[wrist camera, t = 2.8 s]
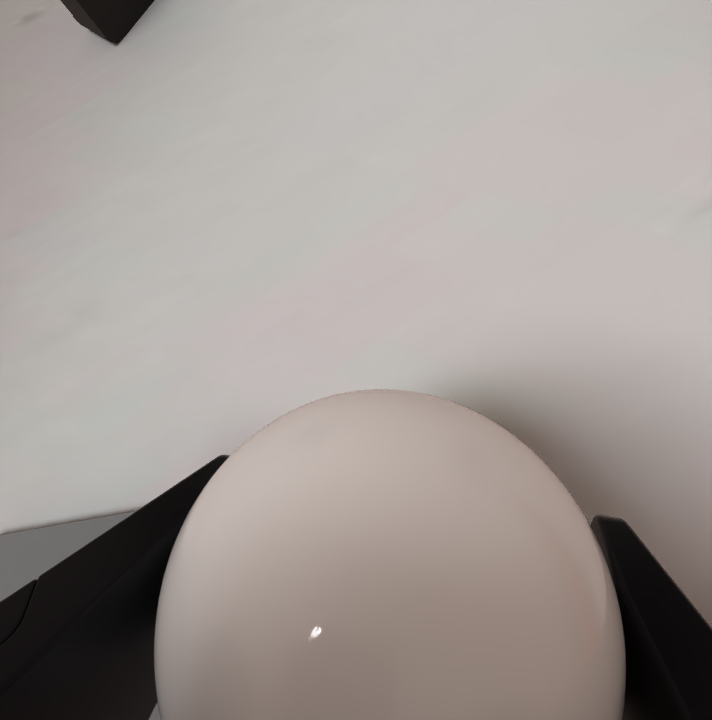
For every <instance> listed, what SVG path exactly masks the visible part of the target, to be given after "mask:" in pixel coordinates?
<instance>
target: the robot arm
mask: <svg viewBox="0 0 712 720" xmlns="http://www.w3.org/2000/svg"><path fill="white" fill-rule="evenodd" d="M228 457H229V455H221V456H219V457H217V458H215V459H214V460H212V461H211V462H209V463H208V464H206V465H205V466H203V467H202V468H200V469H199V470H197V471H196V472H194V473H193V474H191V475H190V476H188V477H187V478H185V479H184V480H182V481H181V482H179V483H178V484H176V485H175V486H173V487H172V488H170V489H169V490H167V491H166V492H164V493H163V494H161V495H160V496H158V497H157V498H155V499H154V500H152V501H151V502H149V503H148V504H146V505H145V506H143V507H142V508H140V509H139V510H137V511H136V512H134V513H133V514H131V515H130V516H128V517H127V518H125V519H124V520H122V521H121V522H119V523H118V524H116V525H115V526H113V527H112V528H110V529H109V530H107V531H106V532H104V533H103V534H101V535H100V536H98V537H97V538H95V539H94V540H92V541H91V542H89V543H88V544H86V545H85V546H83V547H82V548H80V549H79V550H77V551H76V552H74V553H73V554H71V555H70V556H68V557H67V558H65V559H64V560H62V561H61V562H59V563H58V564H56V565H55V566H53V567H52V568H50V569H49V570H47V571H46V572H44V573H43V574H41V575H40V576H39V577H38V580H37V579H34V580H32V581H31V582H29V583H28V584H26V585H25V586H23V587H22V588H20V589H19V590H17V591H16V592H14V593H13V594H11V595H10V596H8V597H7V598H5V599H3V600H2V601H0V720H149V718H150V716H151V714H152V712H153V710H154V708H155V706H156V704H157V695H156V686H155V674H154V633H155V621H156V613H157V606H158V600H159V594H160V590H161V585H162V580H163V577H164V573H165V569H166V566H167V563H168V559H169V556H170V554H171V551H172V548H173V545H174V543H175V540H176V538H177V535H178V533H179V531H180V529H181V527H182V524H183V523H184V521H185V519H186V517H187V515H188V513H189V511H190V509H191V507H192V506H193V504H194V502H195V501H196V499H197V497H198V496H199V494H200V493H201V491H202V490H203V488H204V487H205V485H206V484H207V483H208V481H209V480H210V479H211V477H212V476H213V475H214V473H215V472H216V471H217V470H218V469H219V467H220V466H221V465H222V464H223V463H224V462H225V461H226V460H227V459H228ZM591 528H592V530H593V532H594V534H595V536H596V538H597V540H598V543H599V545H600V547H601V549H602V552H603V554H604V557H605V559H606V562H607V564H608V567H609V570H610V573H611V576H612V579H613V583H614V586H615V590H616V593H617V598H618V602H619V606H620V612H621V617H622V623H623V630H624V638H625V648H626V694H625V705H624V714H623V720H712V628H711V627H710V625H709V624H708V623H707V622H706V620H705V619H704V618H703V617H702V615H701V614H700V613H699V612H698V611H697V609H696V608H695V607H694V606H693V604H692V603H691V602H690V601H689V599H688V598H687V597H686V596H685V594H684V593H683V592H682V591H681V589H680V588H679V587H678V586H677V584H676V583H675V582H674V581H673V580H672V578H671V577H670V576H669V575H668V573H667V572H666V571H665V570H664V568H663V567H662V566H661V565H660V563H659V562H658V561H657V560H656V558H655V557H654V556H653V555H652V553H651V552H650V551H649V550H648V548H647V547H646V546H645V545H644V544H643V542H642V541H641V540H640V539H639V537H638V536H637V535H636V534H635V532H634V531H633V530H632V529H631V527H630V526H629V525H628V524H627V523H626V522H625V521H624V520H622V519H620V518H615V517H609V516H603V515H597V516H595V517H594V519H593V521H592V523H591Z"/></svg>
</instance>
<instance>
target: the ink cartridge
mask: <svg viewBox="0 0 712 720" xmlns="http://www.w3.org/2000/svg"><path fill="white" fill-rule="evenodd" d="M61 1H62V3H63V4H64V5H65V6H66V8H67V9H68V10H69V11H70V12H71V14H72V15H73V17H74V18H75V19H76V21H77V22H79V23H80V24H81V25H82V26H84V27H86V28H87V29H89V30H91V31H93V32H94V33H96V34H98V35H100V36H101V37H103V38H105V39H107V40H109V41H111V42H117V41H120V40H121V39H123V37H124V36H125V35H126V34H127V33H128V32H129V30H130V29H131V28H132V27H133V25H134V24H135V23H136V22H137V21H138V19H139V18H140V17H141V16H142V14H143V13H144V12H145V11H146V10H147V8H148V7H149V6H150V5H151V3H152V2H153V1H154V0H61Z"/></svg>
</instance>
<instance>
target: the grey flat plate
mask: <svg viewBox="0 0 712 720" xmlns="http://www.w3.org/2000/svg"><path fill="white" fill-rule="evenodd" d="M134 512H136V511H134ZM134 512H128V513H122V514H116V515H111V516H105V517H99V518H94V519H88V520H82V521H77V522H71V523H65V524H60V525H54V526H48V527H43V528H37V529H31V530H25V531H20V532H14V533H8V534H3V535H0V601H2V600H3V599H5V598H7V597H8V596H10V595H11V594H13V593H14V592H16V591H17V590H19V589H20V588H22V587H23V586H25V585H26V584H28V583H29V582H31V581H32V580H34V579H37V580H38V577H39V576H40V575H41V574H43V573H44V572H46V571H47V570H49V569H50V568H52V567H53V566H55V565H56V564H58V563H59V562H61V561H62V560H64V559H65V558H67V557H68V556H70V555H71V554H73V553H74V552H76V551H77V550H79V549H80V548H82V547H83V546H85V545H86V544H88V543H89V542H91V541H92V540H94V539H95V538H97V537H98V536H100V535H101V534H103V533H104V532H106V531H107V530H109V529H110V528H112V527H113V526H115V525H116V524H118V523H119V522H121V521H122V520H124V519H125V518H127V517H128V516H130V515H131V514H133V513H134ZM149 720H161V719H160V714H159V708H158V702H157V704H156V706H155V708H154V710H153V712H152V714H151V716H150V718H149Z"/></svg>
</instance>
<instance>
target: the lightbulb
mask: <svg viewBox="0 0 712 720" xmlns="http://www.w3.org/2000/svg"><path fill="white" fill-rule="evenodd" d="M154 674H155V686H156V695H157V702H158V708H159V714H160V719H161V720H623V714H624V705H625V694H626V648H625V638H624V630H623V623H622V617H621V612H620V606H619V602H618V598H617V593H616V590H615V586H614V583H613V579H612V576H611V573H610V570H609V567H608V564H607V562H606V559H605V557H604V554H603V552H602V549H601V547H600V545H599V543H598V540H597V538H596V536H595V534H594V532H593V530H592V528H591V526H590V524H589V523H588V521H587V519H586V517H585V516H584V514H583V512H582V511H581V509H580V507H579V506H578V504H577V503H576V501H575V500H574V498H573V497H572V495H571V494H570V493H569V491H568V490H567V489H566V487H565V486H564V485H563V483H562V482H561V481H560V480H559V478H558V477H557V476H556V475H555V474H554V472H553V471H552V470H551V469H550V468H549V467H548V466H547V465H546V464H545V463H544V462H543V461H542V459H541V458H540V457H539V456H538V455H536V454H535V453H534V452H533V451H532V450H531V449H530V448H529V447H528V446H527V445H525V444H524V443H523V442H522V441H521V440H519V439H518V438H517V437H516V436H514V435H513V434H512V433H510V432H509V431H507V430H506V429H505V428H503V427H502V426H500V425H498V424H497V423H495V422H494V421H492V420H490V419H488V418H487V417H485V416H483V415H481V414H479V413H477V412H475V411H473V410H471V409H469V408H467V407H464V406H462V405H459V404H457V403H454V402H451V401H448V400H446V399H442V398H439V397H435V396H431V395H427V394H423V393H418V392H412V391H404V390H391V389H372V390H360V391H352V392H346V393H341V394H336V395H332V396H328V397H325V398H322V399H318V400H316V401H313V402H310V403H307V404H305V405H303V406H300V407H298V408H296V409H294V410H292V411H290V412H288V413H286V414H284V415H282V416H281V417H279V418H277V419H276V420H274V421H272V422H271V423H269V424H268V425H266V426H265V427H263V428H262V429H261V430H259V431H258V432H257V433H255V434H254V435H253V436H251V437H250V438H249V439H248V440H247V441H245V442H244V443H243V444H242V445H241V446H240V447H239V448H237V449H236V450H235V451H234V452H233V453H232V454H231V455H230V456H229V457H228V459H227V460H226V461H225V462H224V463H223V464H222V465H221V466H220V467H219V469H218V470H217V471H216V472H215V473H214V475H213V476H212V477H211V479H210V480H209V481H208V483H207V484H206V485H205V487H204V488H203V490H202V491H201V493H200V494H199V496H198V497H197V499H196V501H195V502H194V504H193V506H192V507H191V509H190V511H189V513H188V515H187V517H186V519H185V521H184V523H183V524H182V527H181V529H180V531H179V533H178V535H177V538H176V540H175V543H174V545H173V548H172V551H171V554H170V556H169V559H168V563H167V566H166V569H165V573H164V577H163V580H162V585H161V590H160V594H159V600H158V606H157V613H156V621H155V633H154Z"/></svg>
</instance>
